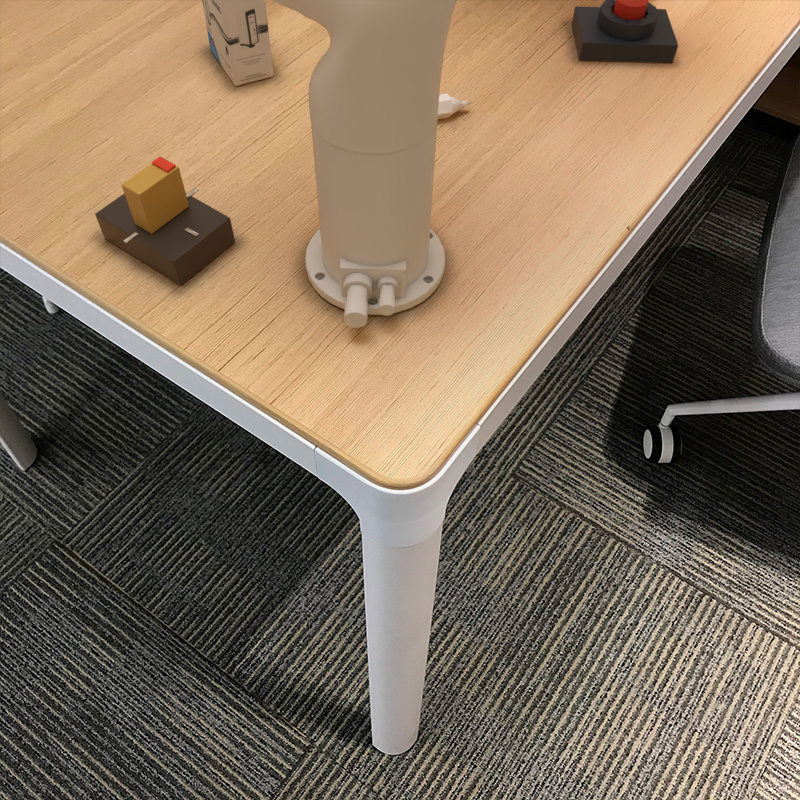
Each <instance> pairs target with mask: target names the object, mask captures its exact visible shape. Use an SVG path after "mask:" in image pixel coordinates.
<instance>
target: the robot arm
mask: <svg viewBox="0 0 800 800" xmlns="http://www.w3.org/2000/svg"><path fill="white" fill-rule="evenodd" d="M271 1H272V2H273V3H276V4H278V5H281V6H283V7H285V8H287V9H289V10H292V11H294V12H296V13H299V14H300V15H302V16H303V17H305V18H307V19H309V20H312V21H314V22H316V23H318V24H319V25H320V26H322V27H323V28H324V29H325V30H326V31H327V33H328V36H329V39H330V40H329V47H328V49H327V50H326V51H325V53H324V54H323V55H322V57H321V58H320V59H319V60H318V62H317V63H316V65H315V66H314V68H313V70H312V73H311V75H310V80H309V83H308V109H309V120H310V126H311V138H312V150H313V162H314V172H315V184H316V185H315V186H316V195H317V208H318V218H319V219H318V220H319V228H318V229H317V230H316V232H314V234H313V236H312V237H311V238H310V239H309V242H308V244H307V247H306V249H305V256H304V257H305V258H304V261H305V270H306V274H307V278H308V280H309V282H310V284H311V285H312V287H313V289H314V290H315V292H317V293H318V294H319V295H320V297H321V298H323V299H324V300H326V301H327V302H328V303H330V304H331V305H334V306H336V307H337V308H339V309H342V310H344V311H343V312H344V313H343V322H344V324H345V325H346V326H347V327H350V328H352V329H353V328H354V329H360V328H363V327H365V326H366V325H367V322H368V318H369V317H368V316H378V315H379V316H381V315H382V316H384V317H385V316H386V317H388V316H392V315H394V314H396V313H400V312H403V311H406V310H410V309H412V308H413V307H415V306H418V305H420V304H421V303H423V302H424V301H425V300H427V299H428V298H430V297H431V296H432V294H433V293H434V292H435V291H436V290H437V289H438V287H439V286H440V283H441V282H442V281H443V277H444V273H445V268H446V253H445V248H444V246H443V244H442V241H441V239H440V238H439V236H438V235H437V234H436V233H435V231H434V230H433V229H432V228H431V220H432V208H433V206H432V205H433V191H434V179H435V163H436V149H437V135H438V120H439V119H438V105H439V95H440V90H441V82H442V81H441V80H442V71H443V63H444V56H445V50H446V45H447V40H448V34H449V30H450V27H451V21H452V17H453V15H454V11H455V7H456V3H457V0H271Z"/></svg>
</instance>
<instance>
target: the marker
mask: <svg viewBox="0 0 800 800" xmlns="http://www.w3.org/2000/svg"><path fill="white" fill-rule="evenodd" d="M472 103H474V102H473V101H468V100H464V99H463V100H462V99H459V98H457V97H454V96H451V95H449V93H448V92H446V93H441V94H440V93H439V105H438V120H442V119H448V118H451V117H452V115H454V114H455V113H457V112H458V111H459V110H461V109H464V108H465V107H467V106H469V105H470V104H472Z"/></svg>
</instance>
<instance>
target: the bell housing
mask: <svg viewBox="0 0 800 800" xmlns="http://www.w3.org/2000/svg"><path fill="white" fill-rule="evenodd" d="M615 2H616V0H604V1H603V3H601V4H600V6H579V5H578V6H575V7H574V12H573V14H572V19H571V27H572V33H573V37H574V42H575V47H576V53H577V57H578V61H584V62H585V61H587V62H588V61H589V62H590V61H591V62H618V63H619V62H621V63H623V62H624V63H653V64H673V62H674V60H675V57H676V54H677V50H678V47H679V43H678V41H677V40H678V39H677V38H676V34H675V31H674V28H673V25H672V23H671V20H670V18H669V17H670V16H669V14H668V11H667V9H666V8H657V7H656V5H654V4H652V3H651V2H650V1H648V5H647V8H646V12H645V15H644V18H642V19H639V20H627V19H623V18H620V17H618V16H616V15H615V14H614V13H613V10H614V6H615Z"/></svg>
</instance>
